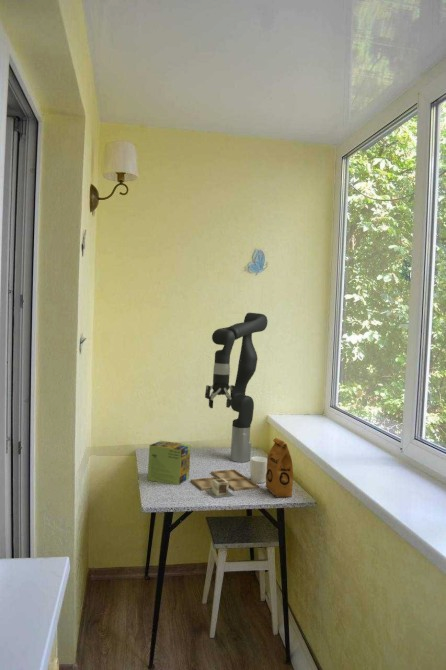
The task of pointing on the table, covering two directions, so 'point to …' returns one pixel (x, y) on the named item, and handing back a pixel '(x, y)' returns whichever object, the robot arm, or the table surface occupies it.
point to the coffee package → (279, 470)
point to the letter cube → (220, 487)
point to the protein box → (169, 462)
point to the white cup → (258, 469)
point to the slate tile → (219, 495)
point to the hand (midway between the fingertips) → (219, 407)
